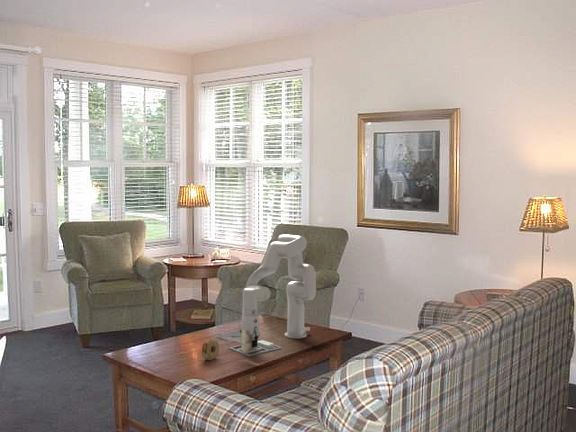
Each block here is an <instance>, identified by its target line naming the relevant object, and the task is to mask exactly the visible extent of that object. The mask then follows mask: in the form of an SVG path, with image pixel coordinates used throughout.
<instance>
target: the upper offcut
mask: <svg viewBox="0 0 576 432" xmlns="http://www.w3.org/2000/svg"><path fill="white" fill-rule="evenodd" d="M257 341H258V342H257V345H258V346H260V347H263V348H266V349H269V350H270V348H272V349H274V348H273V347H274V345H275V343H273V342H271V341H267V340H262V339H261V341H260V340H257Z"/></svg>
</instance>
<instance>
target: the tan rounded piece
mask: <svg viewBox="0 0 576 432" xmlns="http://www.w3.org/2000/svg"><path fill="white" fill-rule="evenodd" d="M219 345H220V344H219V343H218V341H217V340H216V339H213V338H210V339H206V340H205V341H204V342H203V343H202V346H201V356H202V358H203V359H204V360H205V361H211V360H214V359H216V358H217V357H218V355H219V352H220V346H219Z"/></svg>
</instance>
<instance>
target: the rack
mask: <svg viewBox="0 0 576 432" xmlns="http://www.w3.org/2000/svg"><path fill="white" fill-rule="evenodd" d="M261 340H262V339H261ZM261 340H257V342H258V341H261ZM241 346H242V344H238V345H233V346H230V347H228V349H229V350H231V351H233V352H235V353H238V354H241V355H242V356H246V357H248V358H249V357H253V356H257V355H261V354H262V355H263V354H265V353H271V352H273V351H279V350H283V347H282V346H279V345H277V344H274V347H275V348H272V349H269V350H268V349H266V348H263V347H260V346H258V345H257V349H254V350H249V351H245V352H243V351H241ZM258 351H259V352H258Z"/></svg>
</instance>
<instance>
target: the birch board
mask: <svg viewBox="0 0 576 432" xmlns="http://www.w3.org/2000/svg"><path fill="white" fill-rule="evenodd" d="M253 334H254V333H253ZM254 337H255V335H254ZM252 340H253V339H252V336H251V335H249V334H248V331H246V330H242V343H241V345H242V346H241V347H240V348H241V351H242V352H245V351H249V350H254V349H258V348H257V347H254V348H253V347H252Z"/></svg>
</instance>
